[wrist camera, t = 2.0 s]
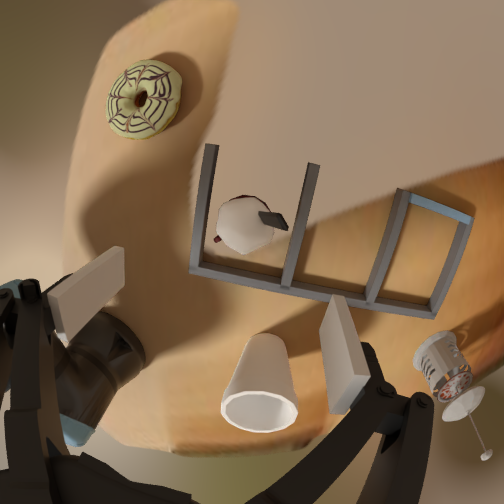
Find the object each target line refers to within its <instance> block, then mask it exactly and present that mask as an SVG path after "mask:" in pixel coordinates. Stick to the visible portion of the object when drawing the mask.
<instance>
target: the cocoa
mask: <svg viewBox="0 0 504 504" xmlns="http://www.w3.org/2000/svg"><path fill="white" fill-rule="evenodd" d="M274 227H275V228H278V229H281V230H285V231H288V228H289V227H288V225H287V223H286V221H285V220H284V218H283V216H282V214H280V213H274V212H273V213H272V212H271V211H270V209H269V208H268V206H267V205H266V203H265V202H263V201H261V200H260V199H258V198H257V197H255V196H248V195H241V196H239V197H236V198H233V199H231V200H229V201H228V202H225V203H224V204H223V205H222V206H221V208H220V209H219V215H218V221H217V223H216V232H217V234H218V236H217V237H215V238H214V241H215V242H216V243H217V242H219V241H221V240H223V241H224V243H225V244H226V245H227V246H228V247H230V248H232V249H233V250H235V251H237V252H238V253H240V254H242V255H246V254H248V253H250V252H253V251H255V250H256V249H258V248H260V247H263V246H265V245H267V244H270V243H271V240H272V237H273V235H274Z"/></svg>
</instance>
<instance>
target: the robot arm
mask: <svg viewBox="0 0 504 504" xmlns="http://www.w3.org/2000/svg"><path fill="white" fill-rule="evenodd" d="M124 286H125V271H124V248H123V247H119V246H113V247H112V248H110V249H108V250H107V251H105V252H104V253H102V254H101V255H100V256H98V257H97V258H95V259H94V260H92V261H91V262H89V263H88V264H86V265H85V266H84V267H82V268H81V269H79V270H78V271H76V272H75V273H74V274H73V273H72V274H69V275H66V276H64V277H63V278H61V279H60V280H59V281H57V282H56V283H55V284H53V285H52V286H51V287H49V288H48V289H46V290H45V291H44V292H42V293H41V289H40V284H39V281H38V280H36V279H26V280H20V279H16V280H13V281H10V282H8V283H5V284H3V285H1V286H0V409H1V405H2V401H3V397H4V393H6V392H7V391H8V390H9V389H10V388H11V391H10V392H11V393H10V396H11V397H10V404H11V405H10V406H11V407H10V410H6V411H5V413H4V426H5V440H6V450H7V459H8V466H9V469H5V470H0V504H199V503H198V502H196V501H194V500H192V499H191V494H188V493H184V492H181V491H177V490H174V489H170V488H167V487H164V486H158V485H151V484H143V483H137V482H132V481H130V480H128V479H127V478H125V477H124V476H122V475H121V474H119V473H118V472H117V471H115V470H114V469H113V468H111V467H110V466H109V465H107V464H106V463H104V462H102V461H100V460H98V459H96V458H94V457H92V456H90V455H88V454H86V453H84V452H82V454H81V455H80V456H76V455H70V453H69V451H68V449H67V446H66V444H68V445H71V446H75V447H81V446H83V445H85V443H86V442H87V441H88V439H89V438H90V437H91V435H92V434H93V433H94V432H95V429H96V427H97V425H98V423H99V422H100V420H101V418H102V416H103V415H104V413H105V411H106V409H107V408H108V406H109V404H110V402H111V401H112V399H113V397H114V395H115V394H116V392H117V391H118V389H120V388H121V387H123V386H124V385H125V384H127V383H128V382H129V381H131V380H132V379H133V378H135V377H136V376H137V375H138V374H139V373H140V371H141V369H142V368H143V366H144V363H145V353H144V350H143V347H142V345H141V343H140V341H139V340H138V338H137V337H136V336H135V334H134V333H133V332H132V331H131V330H130V329H129V328H128V327H127V326H126V325H125V324H124V323H122V322H121V321H120V320H118V319H117V318H115V317H113V316H111V315H109V314H107V313H104V312H100V311H99V310H100V309H101V308H102V307H103V306H104V305H105V304H106V303H107V302H108V301H109V300H110V299H111V298H112V297H113V296H114V295H115V294H117V293H118V292H119V291H120V290H121V289H122V288H123V287H124ZM55 329H56V333H57V334H56V333H55V331H54V330H55ZM319 336H320V342H321V349H322V356H323V363H324V371H325V378H326V386H327V395H328V404H329V413H330V414H342V415H345V413H346V412H347V411H348V409H349V408H350V410H351V411H350V412H349V413H348V414H347V415H346V416H345V417H344V418H343V420H342V421H341V422H340V423H339V424H338V425H337V426H336V427H335V428H334V429H333V430H332V431H331V432H330V433H329V434H328V435H327V437H326V438H324V439H323V441H322V442H320V443H319V444H318V446H317V447H316V448H314V449H313V450H312V451H311V452H310V453H309V454H308V455H307V456H306V457H305V458H304V459H302V460H301V461H300V462H299V463H298V464H297V465H296V466H295V467H293V468H292V469H291V470H290V471H289V472H288V473H286V474H285V475H284V476H283V477H281V478H280V479H279V480H278V481H277V482H275V483H274V484H273V485H272V486H270V487H269V488H268V489H266V490H265V491H263V492H261V493H259V494H258V495H256V496H255V497H253V498H252V499H250V500H249V501H248V502H246V503H245V504H313V503H314V502H315V501H316V500H317V499H318V498H319V497H320V496H321V495H322V494H323V493H324V492H325V491H326V490H327V489H328V488H329V486H330V485H331V484H332V483H333V482H334V481H335V480H336V479H337V478H338V477H339V476H340V474H341V473H342V472H343V471H344V470H345V469H346V467H347V466H348V465H349V464H350V462H352V460H353V459H354V458H355V457H356V455H357V454H358V453H359V451H360V450H361V449H362V447H363V446H364V445H365V444H366V442H367V441H368V440H369V438H370V437H371V435H372V434H373V433H374V432H377V433H381V434H383V435H382V438H381V441H380V444H379V447H378V450H377V453H376V456H375V459H374V462H373V464H372V467H371V470H370V473H369V475H368V478H367V480H366V483H365V485H364V487H363V490H362V492H361V495H360V497H359V499H358V501H357V503H356V504H418V502H419V499H420V495H421V491H422V487H423V482H424V478H425V473H426V468H427V462H428V457H429V450H430V443H431V436H432V427H433V414H434V402H433V400H432V398H431V397H430V396H429V395H427V394H425V393H423V392H416V393H414V394H413V395H412V396H411V398H408V397H405V396H401V395H398V394H397V392H396V389H395V388H394V386H392V385H391V384H390V383H388V382H386V381H385V379H384V376H383V373H382V370H381V368H380V365H379V363H378V359H377V358H376V354H375V351H374V349H373V348H372V346H371V345H370V344H369V343H366V342H360V340H359V337H358V334H357V331H356V328H355V325H354V322H353V319H352V317H351V314H350V311H349V308H348V305H347V302H346V300H345V297H344V296H340V295H335V294H332V297H331V300H330V302H329V305H328V308H327V310H326V313H325V316H324V318H323V321H322V324H321V326H320V329H319ZM60 339H61V340H63V341H65V342H67V343H68V342H69V344H68V346H67V347H66V348H65V346H64V345H63V343H62V342H61V340H60ZM65 443H66V444H65Z"/></svg>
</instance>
